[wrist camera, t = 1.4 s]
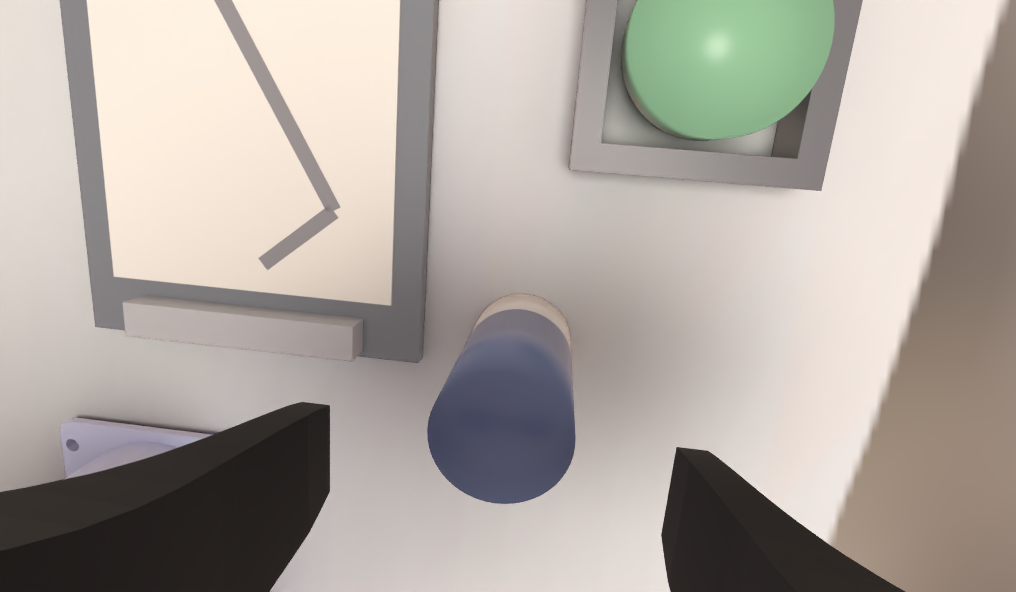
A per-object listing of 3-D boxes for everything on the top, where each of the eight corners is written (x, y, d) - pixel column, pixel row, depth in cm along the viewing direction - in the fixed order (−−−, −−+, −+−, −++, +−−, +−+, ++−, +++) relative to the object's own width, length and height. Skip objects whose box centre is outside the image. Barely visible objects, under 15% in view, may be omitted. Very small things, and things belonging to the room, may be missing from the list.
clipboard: (422, 356, 20) (410, 373, 18) (108, 322, 21) (71, 335, 19) (446, -165, 16) (433, -200, 14) (56, -181, 17) (5, -216, 15)
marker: (565, 391, 20) (566, 512, 13) (470, 380, 20) (424, 493, 13) (575, 299, 19) (583, 377, 12) (477, 289, 19) (430, 360, 12)
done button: (780, 147, 16) (810, 145, 14) (610, 133, 16) (617, 130, 14) (816, -41, 15) (855, -71, 13) (633, -51, 15) (644, -82, 13)
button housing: (792, 187, 17) (820, 190, 15) (568, 168, 18) (569, 169, 16) (843, -65, 16) (883, -97, 14) (594, -78, 16) (598, -110, 14)
